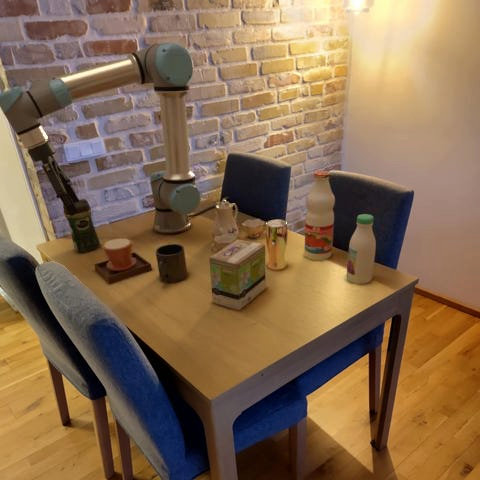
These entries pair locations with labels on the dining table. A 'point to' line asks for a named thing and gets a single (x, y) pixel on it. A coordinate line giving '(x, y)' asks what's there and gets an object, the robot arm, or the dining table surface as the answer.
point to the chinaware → (231, 226)
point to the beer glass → (276, 243)
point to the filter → (119, 255)
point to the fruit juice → (319, 218)
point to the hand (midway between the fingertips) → (75, 208)
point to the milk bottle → (361, 251)
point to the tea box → (237, 273)
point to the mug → (171, 263)
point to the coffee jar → (82, 227)
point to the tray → (117, 276)
